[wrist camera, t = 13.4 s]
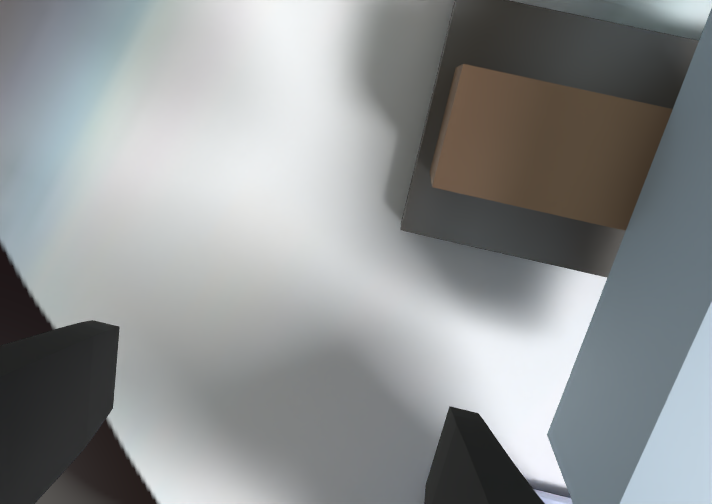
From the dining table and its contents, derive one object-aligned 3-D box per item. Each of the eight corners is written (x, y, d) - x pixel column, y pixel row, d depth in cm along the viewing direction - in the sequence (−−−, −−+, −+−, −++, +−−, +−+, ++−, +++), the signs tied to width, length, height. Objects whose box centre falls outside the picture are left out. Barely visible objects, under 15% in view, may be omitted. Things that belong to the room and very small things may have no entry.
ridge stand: (940, 98, 18) (1092, 102, 14) (825, 319, 20) (926, 376, 16) (456, -4, 18) (467, -29, 14) (401, 222, 21) (398, 254, 17)
